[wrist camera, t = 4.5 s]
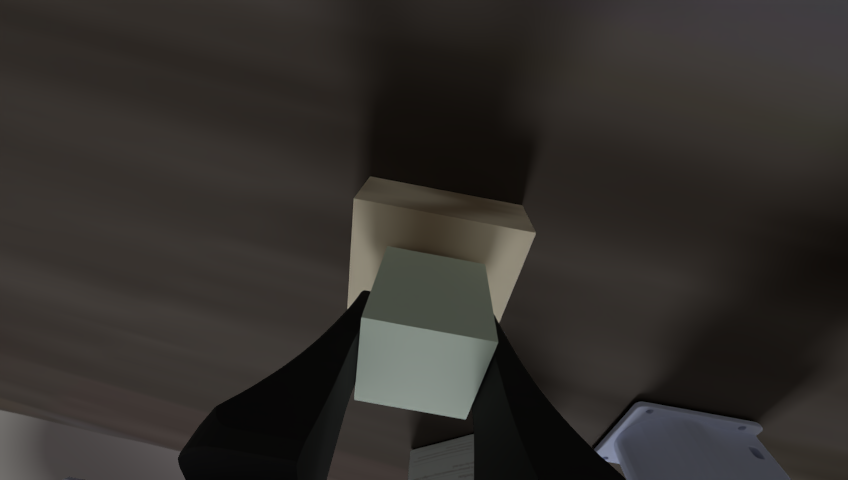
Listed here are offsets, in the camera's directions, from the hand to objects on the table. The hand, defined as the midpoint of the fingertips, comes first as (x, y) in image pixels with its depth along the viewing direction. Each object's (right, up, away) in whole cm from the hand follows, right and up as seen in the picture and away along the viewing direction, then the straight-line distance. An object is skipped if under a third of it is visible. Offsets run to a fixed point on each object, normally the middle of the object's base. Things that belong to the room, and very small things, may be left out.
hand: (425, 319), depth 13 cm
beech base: (0, +3, +5) cm, 5 cm away
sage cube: (0, +1, +2) cm, 2 cm away
